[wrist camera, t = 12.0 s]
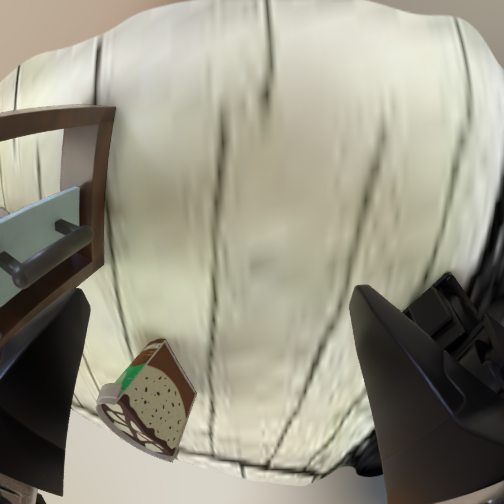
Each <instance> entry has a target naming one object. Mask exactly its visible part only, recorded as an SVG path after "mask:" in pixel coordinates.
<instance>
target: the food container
mask: <svg viewBox="0 0 504 504" xmlns="http://www.w3.org/2000/svg"><path fill="white" fill-rule="evenodd" d="M196 395H197V393H196V391H195V390H194V388H193V386H192V385H191V383H190V381H189V380H188V378H187V376H186V375H185V373H184V371H183V370H182V368H181V366H180V365H179V363H178V361H177V359H176V358H175V356H174V354H173V352H172V350H171V349H170V347H169V345H168V343H167V341H166V339H158V340H155V341H153V342H150V343H149V344H148V345H147V346H146V347H145V348H144V349H143V351H142V352H141V353H140V354H139V355H138V356H137V357H136V359H135V360H134V361H133V362H132V363H131V364H130V366H129V367H128V368H127V369H126V370H125V371H124V372H123V374H122V375H121V376H120V377H119V378H118V379H117V381H116V382H115V383H109V384H105V385H104V386H102V388H101V391H100V393H99V396H98V399H97V406H96V411H97V414H98V416H99V417H100V419H101V420H102V421H103V422H104V423H105V425H106V426H107V427H108V428H110V429H111V430H112V431H113V432H114V433H115V434H116V435H118V436H119V437H120V438H122V439H123V440H125V441H126V442H128V443H129V444H131V445H133V446H134V447H136V448H138V449H140V450H142V451H143V452H145V453H148V454H150V455H152V456H154V457H157V458H159V459H162V460H165V461H169V462H173V460H174V459H176V457H177V456H178V454H179V452H180V450H179V449H178V446H179V444H180V441H181V438H182V435H183V432H184V429H185V426H186V423H187V421H188V418H189V415H190V412H191V409H192V406H193V403H194V400H195V398H196Z"/></svg>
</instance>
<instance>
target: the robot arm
mask: <svg viewBox="0 0 504 504" xmlns="http://www.w3.org/2000/svg"><path fill="white" fill-rule="evenodd" d="M449 277H450V278H449ZM448 278H449V279H448ZM447 279H448V280H447ZM90 311H91V309H90V304H89V302H88V300H87V298H86V297H85V294H84V292H83V291H82V290H81V289H80V288H71V289H69V290H68V291H66V292H65V293H64V294H62V295H61V296H60V297H59V298H57V299H56V300H55V301H54V302H52V303H51V304H50V305H49V306H47V307H46V308H45V309H44V310H42V311H41V312H40V313H39V314H38V315H36V316H35V317H34V318H33V319H32V320H30V321H29V322H28V323H27V324H26V325H25V326H23V327H22V328H21V329H20V330H19V331H18V332H17V333H15V334H14V335H13V336H12V337H11V338H10V339H9V340H8V341H6V342H5V343H4V345H2V346H1V347H0V504H46V502H45V501H44V499H43V497H42V495H41V494H39V493H37V491H38V489H40V490H43V491H46V492H49V493H52V494H55V495H58V496H63V479H64V461H65V448H66V438H67V431H68V423H69V417H70V410H71V405H72V399H73V394H74V389H75V384H76V379H77V375H78V370H79V366H80V362H81V358H82V354H83V349H84V344H85V338H86V332H87V327H88V322H89V317H90ZM349 311H350V316H351V322H352V328H353V334H354V340H355V346H356V351H357V355H358V359H359V363H360V367H361V370H362V374H363V378H364V382H365V386H366V390H367V394H368V398H369V403H370V407H371V411H372V416H373V420H374V425H375V430H376V435H377V440H378V445H379V450H380V456H381V461H382V468H383V474H384V480H385V487H386V494H387V502H388V504H504V327H503V326H502V325H500V324H499V323H498V322H497V321H495V320H494V319H493V318H492V317H491V316H489V315H488V314H487V313H486V314H485V315H484V316H483V317H482V318H481V321H480V322H479V321H478V319H477V318H476V316H475V315H476V312H477V311H476V309H475V307H474V306H473V304H472V302H471V301H470V299H469V298H468V296H467V295H466V293H465V292H464V290H463V289H462V287H461V286H460V284H459V283H458V281H457V280H456V278H455V277H454V276H453V274H452V273H451V272H447V273H445V274H444V275H443V276H442V277H441V278H440V279H439V280H438V281H437V282H436V283H435V284H434V285H433V286H432V287H430V288H429V289H428V290H427V291H426V292H425V293H424V294H423V295H422V296H421V297H419V298H418V299H417V300H416V301H415V302H414V303H413V304H411V305H410V306H409V307H408V308H407V309H405V310H404V311H403V312H401V311H400V310H398V309H397V308H396V307H395V306H394V305H392V304H391V303H390V302H389V301H388V300H386V299H385V298H384V297H383V296H382V295H380V294H379V293H378V292H377V291H376V290H374V289H373V288H372V287H371V286H369V285H357V286H356V287H355V288H354V291H353V294H352V298H351V301H350V304H349Z"/></svg>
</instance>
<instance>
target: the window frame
mask: <svg viewBox="0 0 504 504" xmlns="http://www.w3.org/2000/svg"><path fill="white" fill-rule="evenodd" d="M115 109H116V107H114V106H102V105H86V104H76V105H58V106H46V107H36V108H28V109H20V110H13V111H7V112H1V113H0V142H1V141H5V140H9V139H13V138H17V137H21V136H26V135H31V134H36V133H41V132H46V131H52V130H58V129H64V135H63V145H62V159H61V182H60V192H61V191H63V190H66V189H69V188H71V187H74V186H76V187H79V188H80V193H79V227H81V226H83V225H87V226H90V227H91V228H92V229H93V232H94V238H93V240H92V241H91V242H90V243H89V244H88V245H86V246H85V247H83V248H82V249H80V250H79V251H77V252H76V253H74V254H73V255H71V256H70V257H68V258H67V259H65V260H64V261H63V262H61V263H60V264H58V265H57V266H56V267H54V268H53V269H51V270H50V271H49V272H47V273H46V274H45V275H43V276H42V277H41V278H39V279H38V280H37V281H35V282H34V283H33V284H31V285H30V286H29V287H27V288H26V289H22V290H21V291H20V292H19V293H17V294H16V295H15V296H14V297H12V298H11V299H10V300H9V301H8V302H6V303H5V304H4V305H3V306H2V307H0V347H1V346H2V345H4V343H5V342H6V341H8V340H9V339H10V338H11V337H12V336H13V335H14V334H15V333H17V332H18V331H19V330H20V329H21V328H22V327H23V326H25V325H26V324H27V323H28V322H29V321H30V320H32V319H33V318H34V317H35V316H36V315H38V314H39V313H40V312H41V311H42V310H44V309H45V308H46V307H47V306H49V305H50V304H51V303H52V302H54V301H55V300H56V299H57V298H59V297H60V296H61V295H62V294H64V293H65V292H66V291H68V290H69V289H71V288H76V287H77V286H79V285H80V284H81V283H82V282H83V281H85V280H86V279H87V278H88V277H89V276H91V275H92V274H93V273H94V272H96V271H97V270H98V269H99V268H100V267H102V266H103V265H104V253H103V223H104V198H105V184H106V172H107V162H108V154H109V146H110V139H111V132H112V126H113V120H114V115H115Z"/></svg>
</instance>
